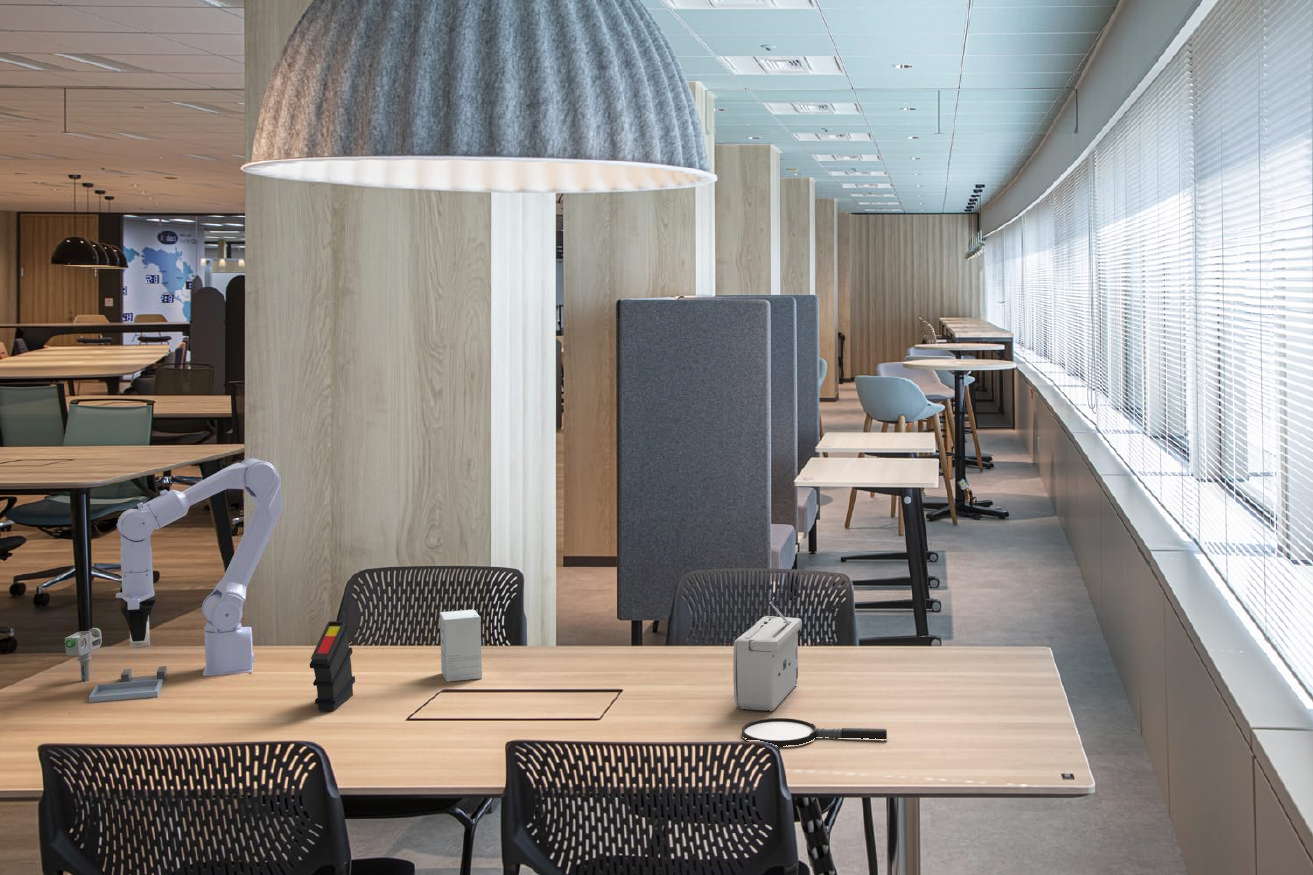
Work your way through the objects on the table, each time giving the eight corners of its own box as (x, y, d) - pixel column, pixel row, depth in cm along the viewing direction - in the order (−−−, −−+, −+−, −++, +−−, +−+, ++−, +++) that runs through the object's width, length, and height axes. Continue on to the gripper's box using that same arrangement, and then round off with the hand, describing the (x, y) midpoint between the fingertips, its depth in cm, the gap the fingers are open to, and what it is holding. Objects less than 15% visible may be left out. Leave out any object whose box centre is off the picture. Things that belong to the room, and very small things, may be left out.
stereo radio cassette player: (762, 681, 249) (761, 579, 247) (803, 684, 246) (803, 581, 245) (732, 711, 229) (730, 601, 228) (776, 715, 227) (775, 603, 225)
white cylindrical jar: (151, 643, 256) (150, 613, 255) (149, 647, 252) (147, 617, 252) (131, 644, 255) (130, 614, 254) (128, 648, 251) (127, 618, 251)
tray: (162, 686, 251) (162, 679, 251) (157, 699, 242) (157, 691, 242) (96, 691, 248) (96, 684, 248) (89, 704, 239) (88, 696, 239)
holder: (168, 676, 259) (167, 665, 259) (165, 682, 254) (165, 671, 254) (123, 679, 257) (123, 668, 256) (119, 686, 252) (119, 675, 251)
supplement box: (477, 669, 260) (475, 608, 259) (482, 679, 253) (481, 616, 252) (440, 673, 258) (439, 611, 257) (445, 682, 251) (443, 618, 250)
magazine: (360, 682, 246) (347, 620, 238) (340, 730, 235) (325, 666, 227) (341, 681, 246) (327, 619, 239) (320, 729, 235) (304, 666, 227)
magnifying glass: (887, 754, 206) (887, 740, 206) (738, 751, 210) (738, 738, 210) (886, 730, 218) (886, 717, 218) (745, 727, 222) (745, 715, 222)
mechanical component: (106, 675, 260) (103, 626, 259) (78, 689, 250) (76, 638, 249) (92, 675, 260) (89, 626, 259) (64, 689, 250) (61, 638, 249)
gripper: (120, 565, 258) (123, 631, 259) (109, 578, 244) (112, 648, 245) (158, 563, 260) (160, 629, 261) (148, 576, 246) (151, 645, 247)
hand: (140, 638), depth 253 cm, fingers closed on white cylindrical jar, 4 cm apart
